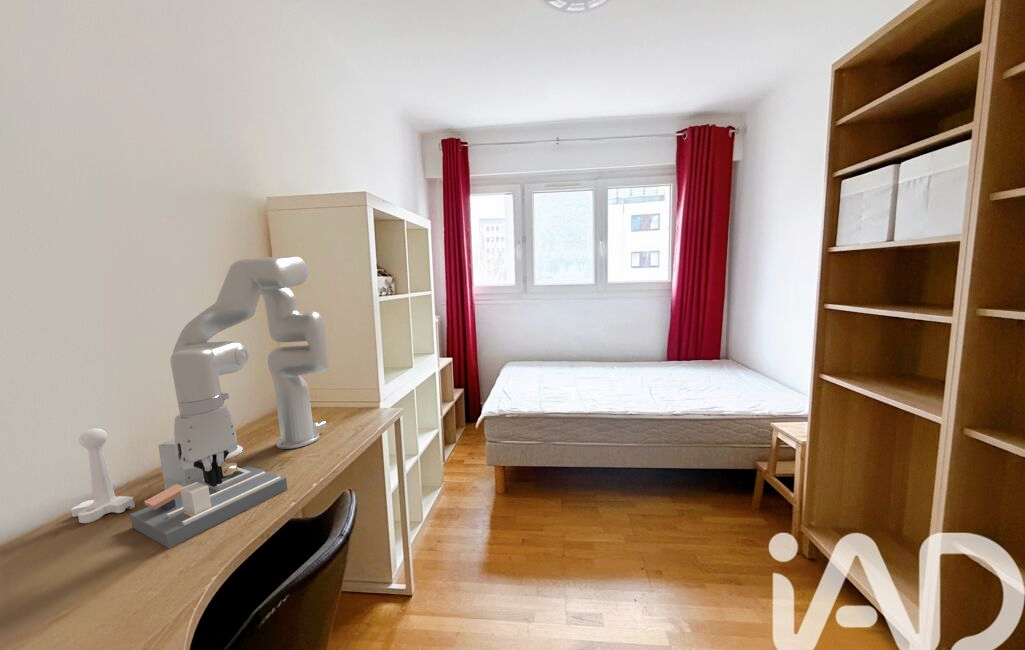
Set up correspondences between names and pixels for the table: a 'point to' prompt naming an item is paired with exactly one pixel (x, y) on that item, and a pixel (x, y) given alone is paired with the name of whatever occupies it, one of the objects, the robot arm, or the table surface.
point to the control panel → (226, 502)
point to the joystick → (99, 482)
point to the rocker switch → (164, 497)
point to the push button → (229, 470)
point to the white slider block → (195, 498)
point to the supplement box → (176, 467)
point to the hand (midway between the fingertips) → (214, 483)
